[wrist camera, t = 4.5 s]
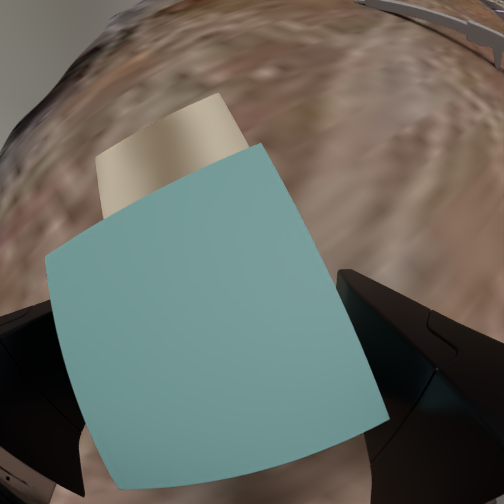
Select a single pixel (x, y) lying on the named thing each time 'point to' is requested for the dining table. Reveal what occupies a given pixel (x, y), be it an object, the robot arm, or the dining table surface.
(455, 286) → the dining table surface
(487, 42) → the caliper
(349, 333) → the teal block
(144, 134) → the birch block
